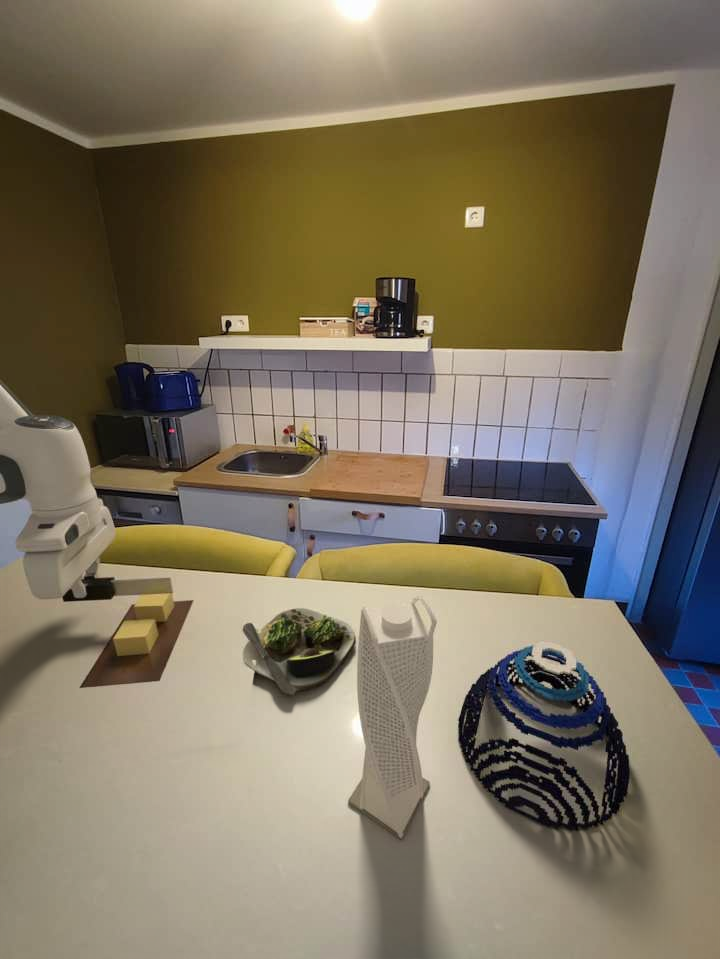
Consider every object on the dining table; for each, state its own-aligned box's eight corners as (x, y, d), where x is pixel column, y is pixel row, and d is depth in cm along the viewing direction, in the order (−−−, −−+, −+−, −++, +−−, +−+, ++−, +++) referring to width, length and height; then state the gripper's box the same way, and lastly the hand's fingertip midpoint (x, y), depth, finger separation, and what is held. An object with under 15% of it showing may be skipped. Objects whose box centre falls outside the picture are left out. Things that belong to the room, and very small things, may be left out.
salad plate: (210, 662, 70) (206, 639, 68) (281, 603, 84) (279, 583, 82) (305, 713, 60) (303, 688, 59) (367, 637, 75) (367, 615, 73)
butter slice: (137, 622, 77) (133, 606, 76) (148, 607, 81) (144, 591, 80) (165, 621, 77) (162, 605, 76) (174, 606, 81) (171, 590, 80)
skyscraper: (440, 791, 50) (457, 590, 41) (409, 859, 44) (419, 640, 34) (379, 754, 55) (380, 564, 45) (342, 811, 48) (334, 605, 39)
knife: (63, 602, 73) (58, 587, 72) (71, 593, 75) (67, 579, 74) (170, 596, 74) (167, 582, 73) (175, 588, 76) (172, 574, 75)
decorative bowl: (477, 665, 69) (485, 589, 64) (621, 714, 60) (644, 630, 55) (439, 775, 52) (446, 684, 47) (630, 866, 43) (664, 766, 38)
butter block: (117, 656, 69) (112, 638, 68) (128, 637, 73) (124, 620, 72) (149, 653, 70) (145, 636, 68) (158, 634, 74) (155, 618, 73)
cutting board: (49, 698, 63) (46, 690, 63) (108, 612, 82) (107, 606, 81) (161, 688, 65) (159, 680, 64) (194, 606, 84) (193, 599, 83)
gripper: (80, 492, 78) (96, 558, 83) (6, 548, 59) (32, 629, 64) (116, 491, 79) (130, 556, 84) (54, 545, 60) (77, 626, 65)
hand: (87, 588), depth 74 cm, fingers closed on knife, 2 cm apart
